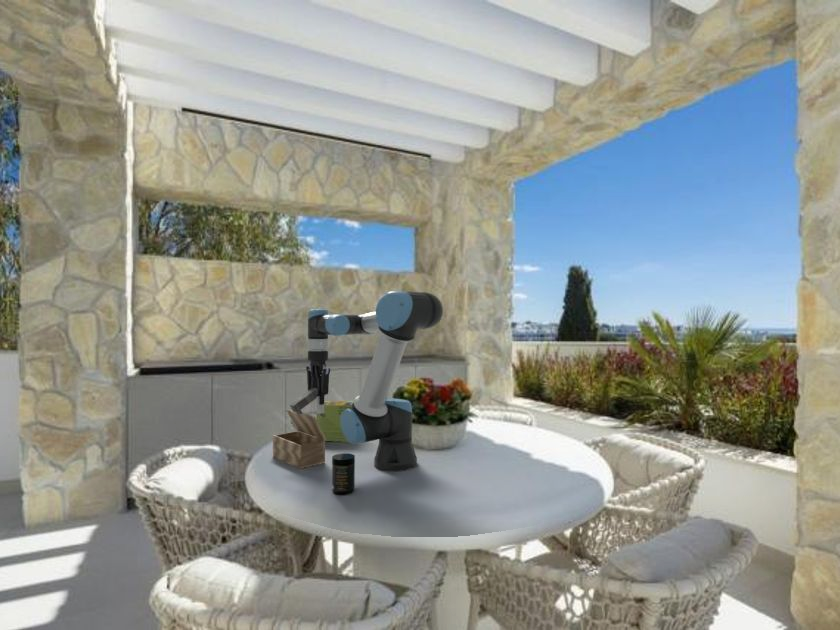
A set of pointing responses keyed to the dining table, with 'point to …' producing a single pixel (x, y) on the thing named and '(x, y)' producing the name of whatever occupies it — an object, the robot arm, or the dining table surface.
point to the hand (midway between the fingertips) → (317, 412)
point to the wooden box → (298, 449)
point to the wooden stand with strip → (305, 415)
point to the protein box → (333, 420)
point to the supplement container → (343, 473)
